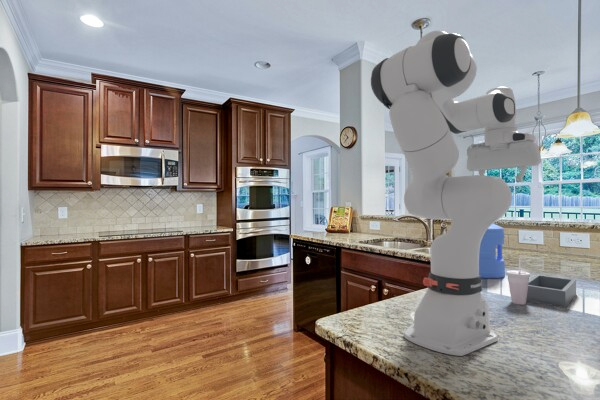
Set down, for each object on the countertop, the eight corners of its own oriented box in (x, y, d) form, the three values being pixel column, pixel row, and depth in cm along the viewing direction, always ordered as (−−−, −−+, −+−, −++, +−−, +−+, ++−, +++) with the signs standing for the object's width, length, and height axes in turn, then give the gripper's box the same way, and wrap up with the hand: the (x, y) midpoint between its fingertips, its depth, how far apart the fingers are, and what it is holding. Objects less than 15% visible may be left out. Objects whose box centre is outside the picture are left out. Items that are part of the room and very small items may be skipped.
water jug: (469, 278, 132) (468, 212, 133) (460, 270, 148) (458, 211, 148) (511, 279, 129) (510, 211, 129) (497, 271, 144) (495, 210, 144)
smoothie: (535, 306, 96) (534, 260, 96) (512, 305, 97) (511, 260, 97) (524, 300, 102) (523, 257, 102) (503, 299, 104) (502, 256, 104)
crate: (565, 307, 94) (565, 291, 94) (522, 299, 102) (521, 284, 103) (576, 294, 107) (576, 279, 108) (537, 288, 116) (536, 274, 116)
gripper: (462, 144, 107) (464, 184, 106) (535, 132, 91) (537, 180, 91) (470, 146, 111) (471, 185, 110) (541, 135, 95) (543, 180, 95)
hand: (502, 182), depth 100 cm, fingers open, 8 cm apart
